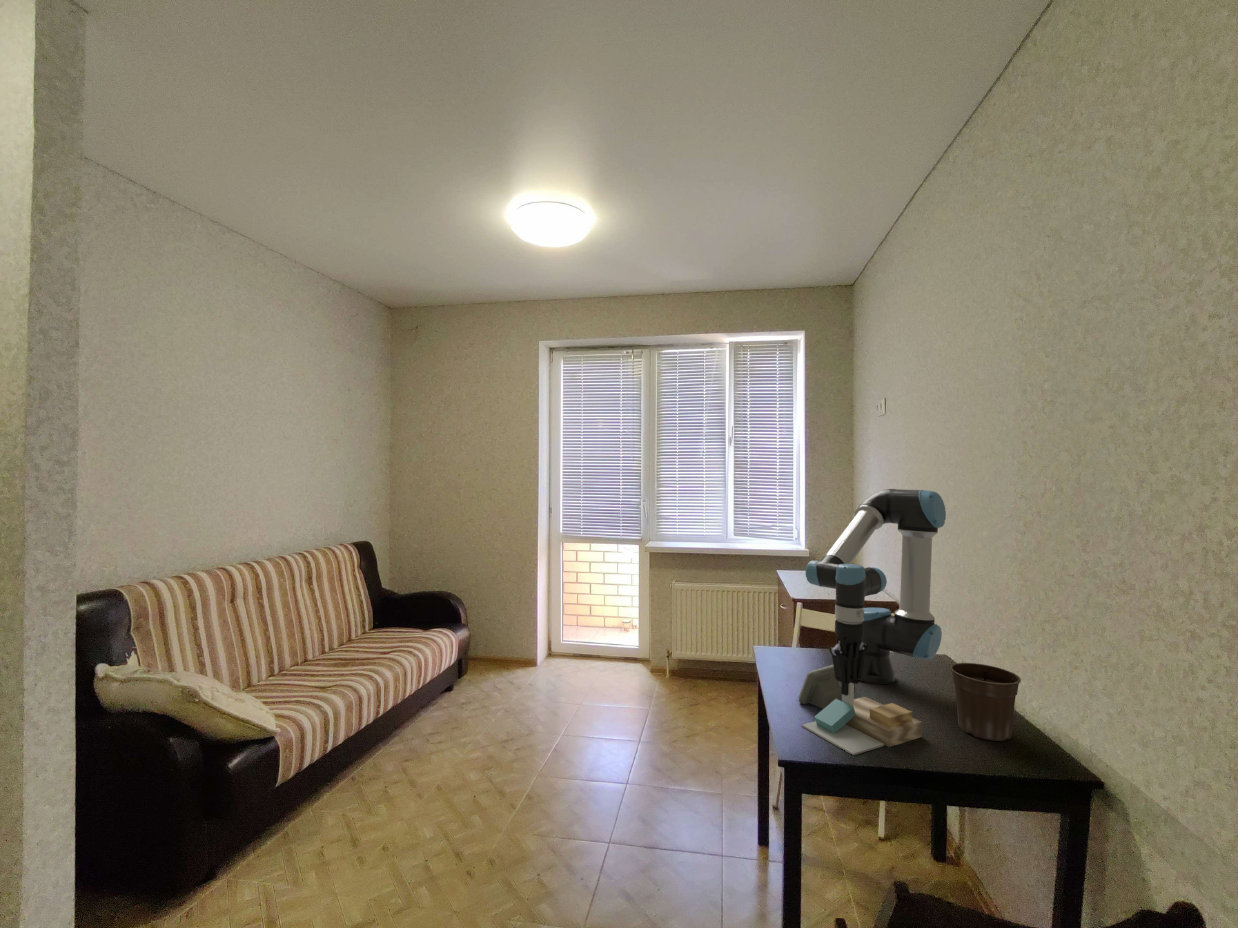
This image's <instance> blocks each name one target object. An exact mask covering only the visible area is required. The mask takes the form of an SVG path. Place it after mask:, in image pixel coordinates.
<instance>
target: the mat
mask: <svg viewBox="0 0 1238 928" xmlns="http://www.w3.org/2000/svg"><path fill="white" fill-rule="evenodd" d="M801 727H802V728H804V729H805V730H807V731H808V732H811V733H813V734H814V735H816V736H818V737H820V738H822V739H823V740H825V741H827V742H829V743H830V744H832V745H833V746H835V747H838V748H839V749H841V750H842V749H843V750H842V751H844V750H845V751H844V752H846V753H847V754H850V755H851V754H852V756H856V755H860V754H862V753H866V752H868V751H871V750H875V749H879V748H882V747H885V745H884V743H882V742H880V741H878V740H876V739H874V738H872V737H870V736H868V735H866V734H864V733H862V732H860V731H858V730H856V729H854V728H852V727H850V726H849V725H847V724H845V725H844V726H843V727H841V728H840V729H839V730H838V731H837V732H836V733H835V734H833V733H831V732H830V731H828V730H826V729H824V728H822V727H820V726H819V725H817V724H816V721H815V720H814V721H811V722H807V723H804V724H801Z"/></svg>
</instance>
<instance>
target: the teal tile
mask: <svg viewBox="0 0 1238 928" xmlns="http://www.w3.org/2000/svg"><path fill="white" fill-rule="evenodd" d="M855 715H856V713H855V710H854V707H852V706H850V705H848V704H846V703H844V702H842V701H840V700H838V699H835V700H834V701H833V702H831V703H830V704H829V705H828V706H827V707H825V708H824V709H821V710H820V711H819V712H818V713H817V714H816V715H815V716H813V717H814V721H816V724H817V725H819V726H820V727H822V728H824V729H826V730H828V731H830V732H831V733H833V734H835V733H836V732H837V731H838V730H839V729H840V728H841V727H843V726H844V725H845V724H846V723H847V722H848V721H849V720H851V719H852V718H853V717H854V716H855Z"/></svg>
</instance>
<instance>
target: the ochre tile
mask: <svg viewBox="0 0 1238 928" xmlns="http://www.w3.org/2000/svg"><path fill="white" fill-rule="evenodd" d="M870 718H871V719H873V720H875V721H877V722H879V723H881V724H883V725H885V726H887V727H889V728H890V727H893V726H897V725H900V724H903V723H907V722H910V721H912V718H913V711H912V710H909V709H907V708H904V707H902V706H900V705H898V704H896V703H893V702H891V703H887V704H883V706H879V707H875V708H871V709H870Z"/></svg>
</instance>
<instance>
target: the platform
mask: <svg viewBox="0 0 1238 928" xmlns="http://www.w3.org/2000/svg"><path fill="white" fill-rule="evenodd" d="M883 705H884V704H883V703H881V702H878V701H876V700H873V699H871V698H869V697H868V696H862V697H858V698H854V710H855V713H856V715H855V716H854V717H853V718H852V719H851V720H849V721H848V722H847V723H846V724H847V725H849V726H850V727H852V728H854V729H856V730H858V731H860V732H862V733H864V734H866V735H868V736H870V737H872V738H874V739H876V740H878V741H880V742H882V743H884V746H886V747H888V748H891V747H894V745H895V746H897V745H898V746H899V745H900V744H904V743H907V742H910V741H913V740H916V739H920V738H922V737H923V721H921V720H919V719H916V718H914V717H912V721H910V722H907V723H903V724H900V725H897V726H893V727H890V728H889V727H887V726H885V725H883V724H881V723H879V722H877V721H875V720H873V719H871V718H870V709H871V708H875V707H879V706H883Z"/></svg>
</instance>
